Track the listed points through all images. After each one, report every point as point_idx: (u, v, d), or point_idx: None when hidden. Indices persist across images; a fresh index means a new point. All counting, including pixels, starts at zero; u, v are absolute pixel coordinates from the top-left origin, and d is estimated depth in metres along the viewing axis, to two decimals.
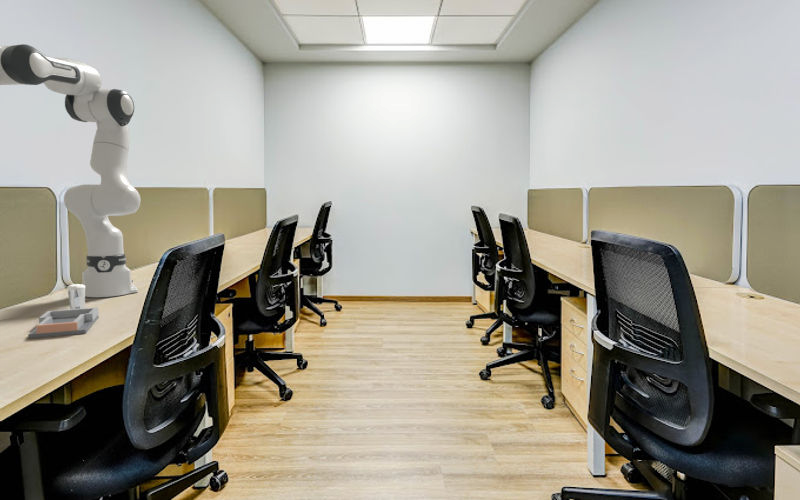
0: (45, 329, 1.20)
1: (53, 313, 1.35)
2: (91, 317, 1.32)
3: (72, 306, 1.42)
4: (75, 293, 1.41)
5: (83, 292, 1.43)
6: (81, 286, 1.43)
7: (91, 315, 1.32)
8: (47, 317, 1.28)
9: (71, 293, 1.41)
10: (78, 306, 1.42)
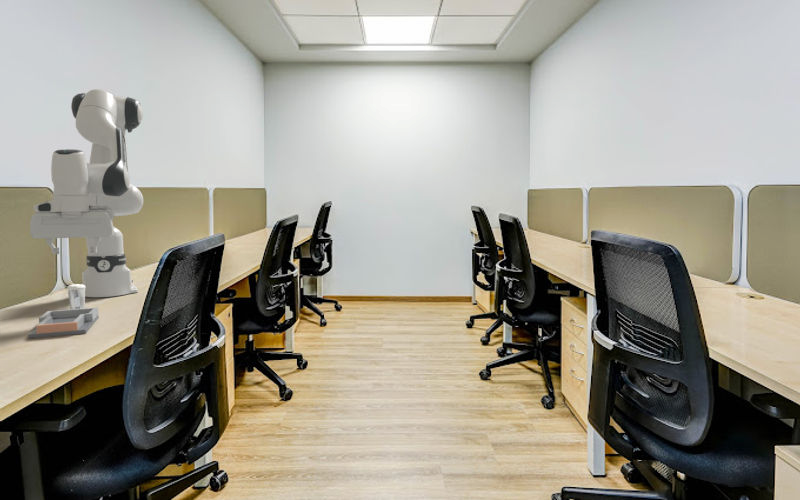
0: (45, 329, 1.20)
1: (53, 313, 1.35)
2: (91, 317, 1.32)
3: (72, 306, 1.42)
4: (75, 293, 1.41)
5: (83, 292, 1.43)
6: (81, 286, 1.43)
7: (91, 315, 1.32)
8: (47, 317, 1.28)
9: (71, 293, 1.41)
10: (78, 306, 1.42)
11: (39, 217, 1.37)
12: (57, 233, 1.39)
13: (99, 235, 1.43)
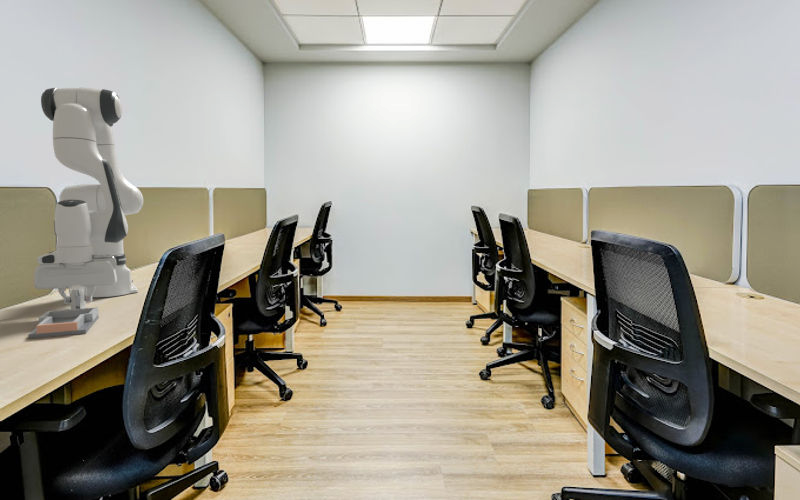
0: (45, 329, 1.20)
1: (53, 313, 1.35)
2: (91, 317, 1.32)
3: (73, 306, 1.42)
4: (76, 293, 1.42)
5: (84, 292, 1.43)
6: None
7: (91, 315, 1.32)
8: (47, 317, 1.28)
9: (72, 293, 1.41)
10: (78, 306, 1.43)
11: (43, 268, 1.38)
12: (61, 284, 1.40)
13: (102, 284, 1.44)
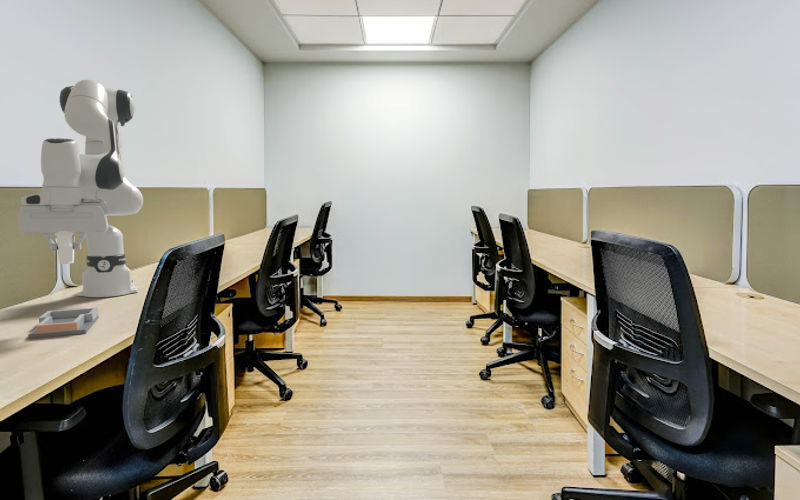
0: (45, 329, 1.20)
1: (53, 313, 1.35)
2: (91, 317, 1.32)
3: (60, 253, 1.31)
4: (63, 239, 1.30)
5: (72, 238, 1.32)
6: (70, 232, 1.31)
7: (91, 315, 1.32)
8: (47, 317, 1.28)
9: (59, 239, 1.30)
10: (66, 253, 1.31)
11: (27, 210, 1.27)
12: (47, 228, 1.29)
13: (92, 230, 1.33)
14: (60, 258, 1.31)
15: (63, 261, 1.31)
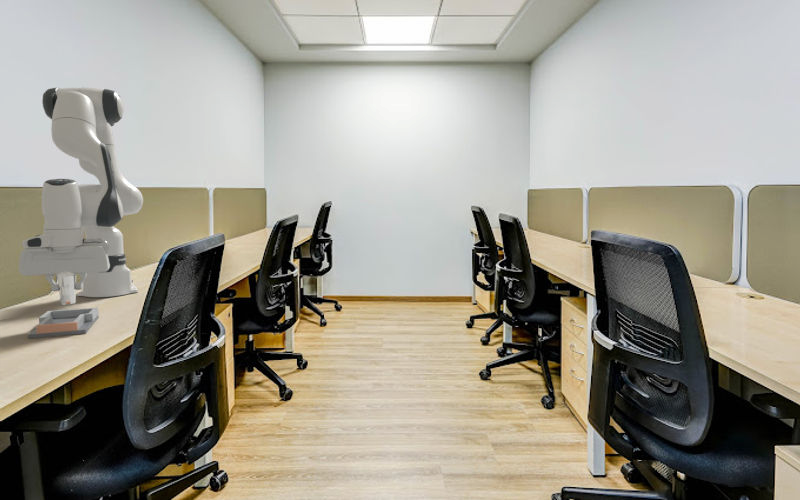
0: (45, 329, 1.20)
1: (53, 313, 1.35)
2: (91, 317, 1.32)
3: (62, 294, 1.31)
4: (65, 280, 1.30)
5: (74, 279, 1.32)
6: (72, 273, 1.31)
7: (91, 315, 1.32)
8: (47, 317, 1.28)
9: (61, 280, 1.30)
10: (68, 294, 1.31)
11: (29, 253, 1.27)
12: (49, 269, 1.29)
13: (93, 270, 1.33)
14: (62, 299, 1.31)
15: (65, 302, 1.31)
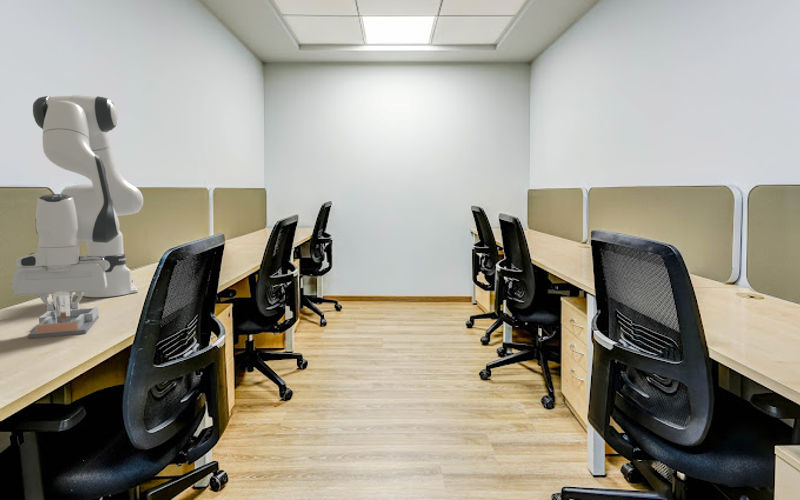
0: (45, 329, 1.20)
1: (53, 313, 1.35)
2: (91, 317, 1.32)
3: (57, 314, 1.26)
4: (60, 300, 1.25)
5: (70, 299, 1.27)
6: (67, 292, 1.26)
7: (91, 315, 1.32)
8: (47, 317, 1.28)
9: (56, 300, 1.25)
10: (64, 314, 1.26)
11: (22, 272, 1.22)
12: (43, 289, 1.24)
13: (90, 289, 1.28)
14: (57, 319, 1.26)
15: (60, 322, 1.26)
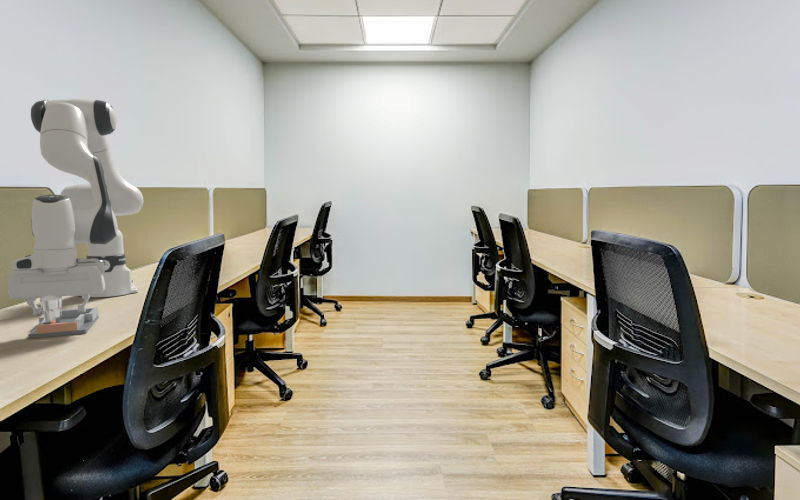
0: (45, 329, 1.20)
1: None
2: (91, 317, 1.32)
3: (46, 319, 1.22)
4: (49, 304, 1.22)
5: (59, 303, 1.23)
6: (56, 296, 1.23)
7: (91, 315, 1.32)
8: None
9: (44, 304, 1.21)
10: (53, 319, 1.22)
11: (18, 275, 1.19)
12: (40, 292, 1.21)
13: (88, 292, 1.25)
14: None
15: None
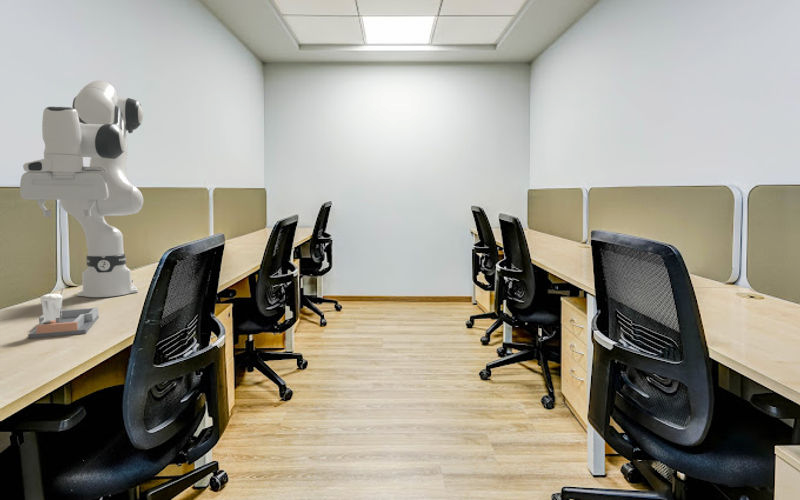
0: (45, 329, 1.20)
1: None
2: (91, 317, 1.32)
3: (46, 319, 1.22)
4: (50, 304, 1.21)
5: (59, 303, 1.23)
6: (57, 296, 1.23)
7: (91, 315, 1.32)
8: None
9: (45, 304, 1.21)
10: (53, 319, 1.22)
11: (30, 176, 1.30)
12: (49, 194, 1.32)
13: (93, 197, 1.36)
14: None
15: None
